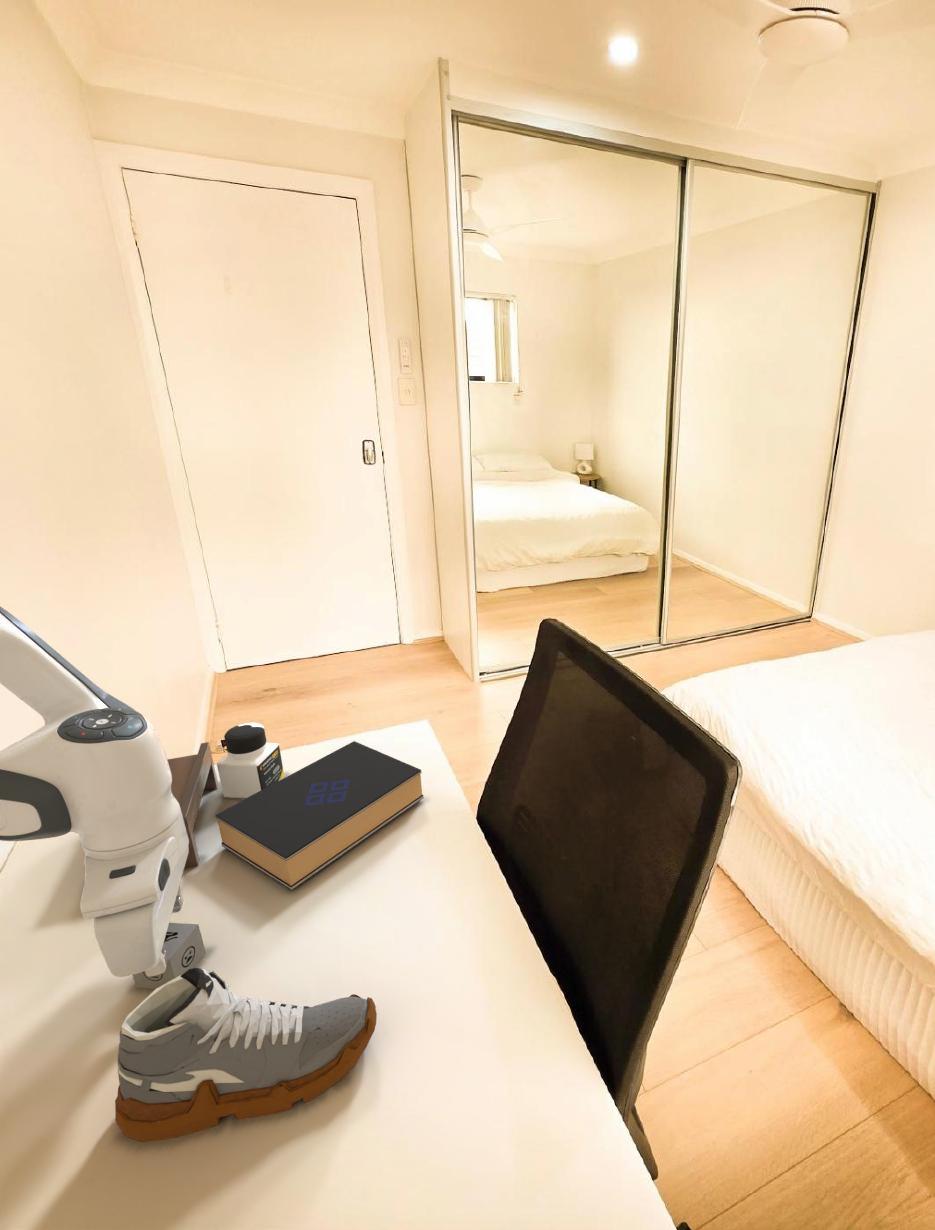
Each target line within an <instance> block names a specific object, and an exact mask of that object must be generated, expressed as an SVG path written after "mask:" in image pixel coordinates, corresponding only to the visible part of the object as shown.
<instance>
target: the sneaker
mask: <svg viewBox="0 0 935 1230" xmlns="http://www.w3.org/2000/svg"><path fill="white" fill-rule="evenodd" d="M376 1008H377V1006H376V1004H375V1002H374V1000H373V998H372V997H370V996H367V998H363V997H361V996H360V995H358V994H351V995H350V996H346V997H341V998H337V999H333V1000H330V1001H327V1002H323V1003H321V1004H317V1005H314V1006H309V1005H301V1004H297V1005H295V1004H293V1003H290V1002H286V1003H283V1002H282V1001H272V1000H264V1001H260V999H257V998H254V997H253V998H248V997H246V996H244V997H240V996H238V995H237V994H235V993H234V992H231V990H230V986H229V985H228V983H227V982H226V981H225V980H223V979H222V978H221V977H220V976H219V975H218V974H217V973H216V972H215V971H210V972H208V970H207V969H205V968H200V967H195V968H193V969H189V970H188V971H186V972H185V973H184V974H182V975H180V976H178V977H176V978H174V979H173V980H171V981H169V982H167V983H165V984H164V985H162V986H160V987H158V988H157V989H155V988H154V990H153V991H152V992H151V993H149V995H148V996H146V998H145V999H143V1000H142V1001H141V1002H140V1003H139V1004H138V1005H137V1006H136V1007H135V1008H133V1009H132V1011H130V1012H129V1013H128V1014H127V1015H126V1017H125V1018H124V1021H123V1022H122V1024H121V1027H120V1032H119V1044H118V1049H117V1076H118V1083H119V1084H118V1087H117V1096H116V1098H115V1100H114V1108H115V1109H114V1110H115V1112H114V1113H115V1114H114V1115H115V1122H116V1124H117V1126H118V1128H119V1129H120V1131H121V1133H122V1134H123V1135H124V1136H125V1137H128V1138H131V1139H133V1140H135V1141H138V1142H140V1143H148V1142H155V1141H160V1140H161V1141H162V1140H169V1139H174V1138H179V1137H183V1136H186V1135H190V1134H193V1133H197V1132H200V1131H203V1130H207V1129H210V1128H212V1127H215V1126H218V1125H219V1124H220V1122H221V1119H222V1117H227V1116H232V1115H235V1116H236V1118H237V1119H238V1120H239V1121H243V1120H248V1119H253V1118H254V1119H255V1118H258V1117H264V1116H269V1115H275V1114H280V1113H284V1112H288V1111H290V1110H291V1109H292V1108H293V1106H294V1103H295V1102H296V1103H297V1102H298V1101H300V1100H303V1102H304V1103H309V1102H311V1101H312V1100H314V1099H316V1098H317V1097H318V1096H319V1095H322V1093H324V1092H326V1091H327V1090H328V1089H330V1088H331V1087H332V1086H334V1085H335V1084H336V1083H338V1082H339V1081H341V1080H342V1079H344V1078H345V1077H346V1076H347V1075H348V1073H349V1072H350V1071H351V1070H352V1069H353V1068H354V1066H355V1065H356V1064H357V1062H358V1061H359V1059H360V1058H361V1057H362V1055H363V1053H364V1052H365V1050H366V1048H367V1046H368V1044H369V1042H370V1040H371V1038H372V1037H373V1034H374V1032H375V1030H376V1025H377V1014H378V1013H377V1009H376Z"/></svg>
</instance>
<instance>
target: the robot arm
mask: <svg viewBox="0 0 935 1230" xmlns="http://www.w3.org/2000/svg"><path fill="white" fill-rule="evenodd" d="M0 685H2V686H3V687H5V688H6V689H7V690H8V691H9V692H11V693H12V694H13V695H14V696H15V697H17V698H18V699H19V700H21V701H22V702H23V703H25V704H26V705H27V706H29V708H31V709H32V710H33V711H35V712H36V713H37V714H39V715H40V716H41V717H42V719H43V722H44V725H43V726H41V727H40V728H38V729H36V730H35V731H33V732H31V733H30V734H28V735H26V736H25V737H23V738H22V739H20V740H18V741H15V742H14V743H12V744H10V745H8V746H6V747H4V749H2V750H0V841H2V842H24V841H35V840H45V839H52V838H57V837H61V836H64V835H66V834H69V833H75V834H77V835H78V836H79V839H80V843H81V846H82V850H83V852H84V855H85V857H84V859H83V862H84V868H85V869H84V880H83V886H82V892H81V896H80V903H79V909H80V912H81V915H82V917H83V919H85V920H89V919H93V932H94V935H95V939H96V942H97V945H98V947H99V950H100V952H101V955H102V957H103V960H104V962H105V964H106V966H107V968H108V970H109V972H110V973H111V974H112V976H114V977H116V978H125V977H130V976H133V975H134V974H137V973H141V972H144V971H145V973H146V975H147V976H148V977H152V976H155V975H159V974H162V973H164V972H165V970H166V967H167V962H168V958H167V954H166V951H162V947H163V944H164V940H165V936H166V933H167V929H168V925H169V923H171V922H170V921H171V919H172V918H171V917H172V914H177V913H180V911H181V910H182V907H183V904H184V898H183V894H182V879H183V874H184V871H185V869H184V867H185V863H186V860H187V856H188V851H189V848H188V845H189V839H188V835H187V831H186V827H185V823H184V820H183V816H182V812H181V809H180V805H179V803H178V801H177V800H176V798H175V797H174V796H173V794H172V792H171V784H172V775H171V771H170V767H169V763H168V760H167V759H168V757H167V753H166V750H165V748H164V745H163V742H162V740H161V738H160V735H159V734H158V732H157V730H156V729H155V727H154V726H153V724H152V723H151V722H150V720H149V719H148V718H147V717H146V716H145V715H144V714H142V713H141V712H139V711H137V710H135V708H133V707H131V706H130V705H129V704H127V703H125V702H124V701H122V700H120V699H118V698H117V697H115V696H113V695H112V694H109V693H108V692H107V691H105V690H104V689H103V688H101V687H99V686H98V685H97V684H96V683H94V682H93V681H92V680H91V679H90V678H88V677H87V676H86V675H85V674H83V673H82V672H81V671H80V670H79V669H78V668H77V667H75V666H74V664H72V663H71V662H69V660H67V659H66V658H65V657H63V655H62V654H60V652H58V651H56V649H54V648H53V647H52V646H51V645H49V644H48V643H47V642H46V641H45V640H43V638H41V637H40V636H39V635H38V634H36V632H34V631H33V630H32V629H31V628H29V626H27V625H26V624H25V623H23V621H21V620H19V618H17V617H15V615H13V614H12V613H10V612H9V611H8V610H6V609H5V608H4V607H2V606H0ZM161 951H162V952H161Z"/></svg>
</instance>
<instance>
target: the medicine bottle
mask: <svg viewBox="0 0 935 1230" xmlns="http://www.w3.org/2000/svg"><path fill="white" fill-rule="evenodd" d="M266 735H267V734H266V729H265V727H264V725H262V724H261V723H258V722H245V723H241V724H240V723H239V724H238V725H235V726H233V727H231V728H229V729H228V730H226V732H225V733H224V735H223V737H224V742H225V747H226V752H227V753H226V755H224V756H223V757H222V758H221V759H220V760H218V762H216V767H217V772H218V776H219V780H220V785H221V790H222V795H223V797H224V798H232V799H246V798H248V797H250V796H251V795H253V794H255V793H257V792H259V791H261V790H263V789H265V788H266V787H268V786H270V785H272V784H274V783H276V782H278V781H280V780H282V779H283V778H285V772H284V771H285V770H284V766H283V761H282V754H281V749H280V744H279V743H276V742H268V741H267V736H266Z"/></svg>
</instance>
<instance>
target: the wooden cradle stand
mask: <svg viewBox="0 0 935 1230" xmlns="http://www.w3.org/2000/svg"><path fill="white" fill-rule="evenodd" d="M213 759H214V758H213V754H212V750H211V744H210V742H209V741H207V742H206V741H205V742H201V743H200V745H199V749H198V752H197V754H191V755H190V754H189V755H186V756H180V757H179V756H178V757H174V758H167V760H168V763H169V767H170V771H171V775H172V784H171V792H172V794H173V796H174V797H175V798H176V800H177V801H178V803H179V805H180V809H181V812H182V816H183V820H184V823H185V827H186V831H187V835H188V839H189V845H188V848H189V851H188V856H187V860H186V863H185V867H184V870H187V869H191V868H196V867H199V865H200V856H199V852H198V848H197V843H196V840H195V836H194V832H193V831H194V830H193V829H194V826H195V823H196V819H197V816H198V812H199V809H200V808H199V807H200V806H201V802H202V797H203V794H204V792H208V791H212V790H218V788H219V782H218V778H217V776H218V775H217V772H216V767H215V764H214V763H215V762H214V760H213Z"/></svg>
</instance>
